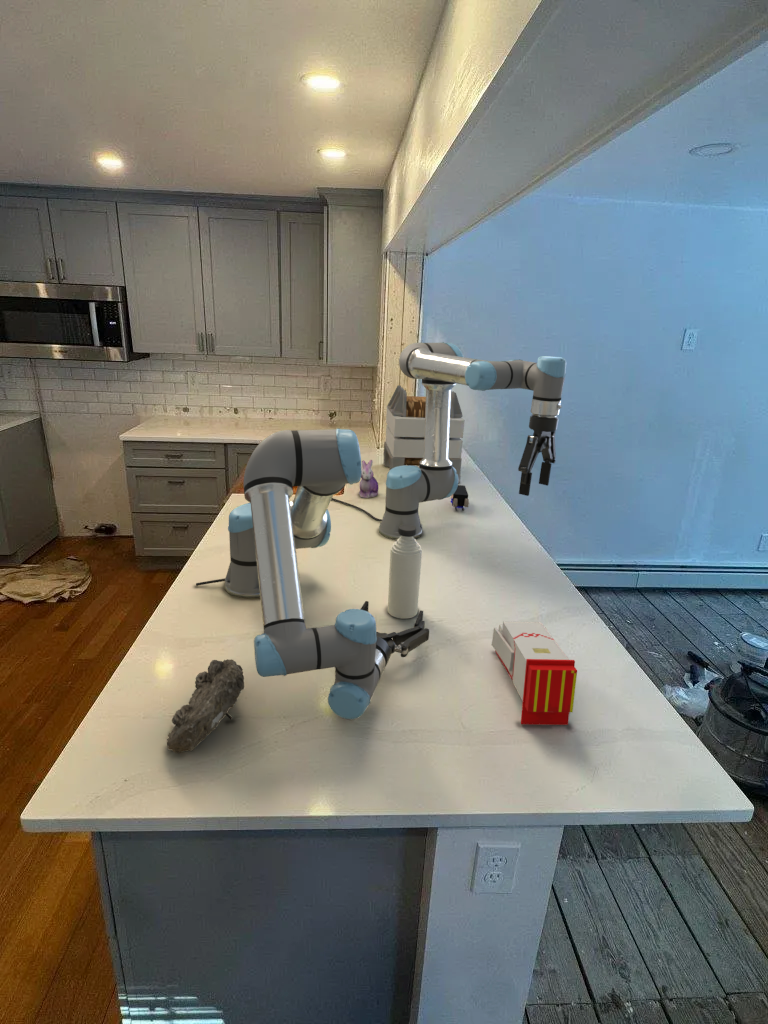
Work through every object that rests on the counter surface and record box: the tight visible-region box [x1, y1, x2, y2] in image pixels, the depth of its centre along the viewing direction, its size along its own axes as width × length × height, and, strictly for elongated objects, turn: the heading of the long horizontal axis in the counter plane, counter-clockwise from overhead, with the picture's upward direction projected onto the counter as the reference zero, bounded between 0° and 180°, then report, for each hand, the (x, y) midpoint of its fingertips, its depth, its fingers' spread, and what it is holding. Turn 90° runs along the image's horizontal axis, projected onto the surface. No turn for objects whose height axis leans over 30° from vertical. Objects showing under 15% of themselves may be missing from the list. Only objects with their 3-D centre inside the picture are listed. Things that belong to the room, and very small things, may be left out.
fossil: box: [166, 658, 245, 754], centre depth 106 cm, size 22×10×15 cm
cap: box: [398, 525, 416, 537], centre depth 141 cm, size 4×4×2 cm
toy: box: [491, 621, 578, 726], centre depth 121 cm, size 12×13×30 cm
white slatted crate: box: [383, 384, 465, 484], centre depth 268 cm, size 34×33×41 cm
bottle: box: [387, 536, 423, 620], centre depth 145 cm, size 8×8×23 cm
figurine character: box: [449, 484, 470, 512], centre depth 229 cm, size 7×8×15 cm
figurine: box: [358, 459, 380, 499], centre depth 237 cm, size 9×10×15 cm
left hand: (393, 610), depth 137 cm, fingers open, 13 cm apart
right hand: (533, 489), depth 162 cm, fingers open, 13 cm apart
